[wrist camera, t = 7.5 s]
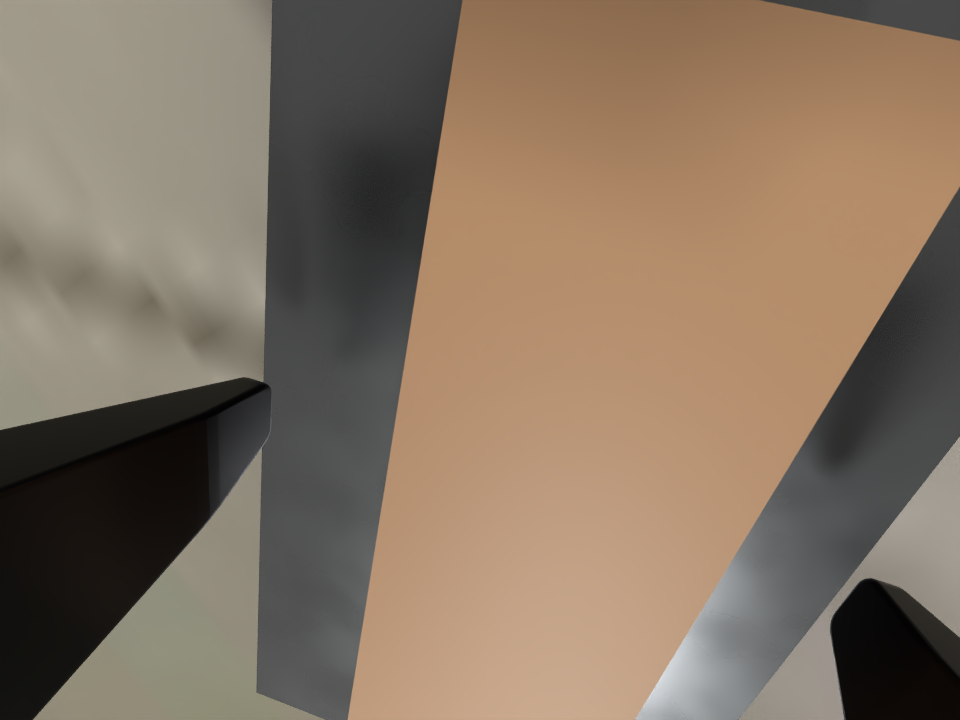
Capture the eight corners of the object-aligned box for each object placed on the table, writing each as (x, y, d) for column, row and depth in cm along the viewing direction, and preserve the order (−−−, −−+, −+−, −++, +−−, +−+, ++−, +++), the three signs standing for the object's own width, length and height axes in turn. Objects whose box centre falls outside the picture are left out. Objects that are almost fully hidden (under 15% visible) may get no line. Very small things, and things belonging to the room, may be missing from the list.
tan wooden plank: (782, 93, 9) (1038, 57, 4) (577, 577, 14) (556, 849, 9) (552, 42, 9) (472, -60, 4) (439, 530, 15) (340, 762, 9)
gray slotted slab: (1277, -299, 6) (1781, -615, 4) (636, 725, 16) (641, 844, 14) (405, -413, 7) (289, -709, 5) (310, 604, 17) (256, 692, 15)
